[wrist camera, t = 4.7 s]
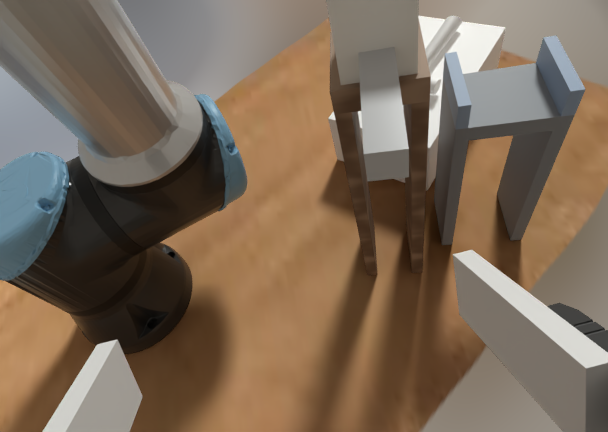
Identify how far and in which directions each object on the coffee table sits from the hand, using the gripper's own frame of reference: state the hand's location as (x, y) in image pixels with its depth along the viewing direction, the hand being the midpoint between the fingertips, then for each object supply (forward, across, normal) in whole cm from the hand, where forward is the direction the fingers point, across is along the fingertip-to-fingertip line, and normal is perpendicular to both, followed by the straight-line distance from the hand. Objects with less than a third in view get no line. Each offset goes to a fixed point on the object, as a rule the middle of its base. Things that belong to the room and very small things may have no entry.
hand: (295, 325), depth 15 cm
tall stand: (+32, +12, -14) cm, 37 cm away
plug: (+12, +8, +7) cm, 16 cm away
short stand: (+32, +23, -12) cm, 41 cm away
